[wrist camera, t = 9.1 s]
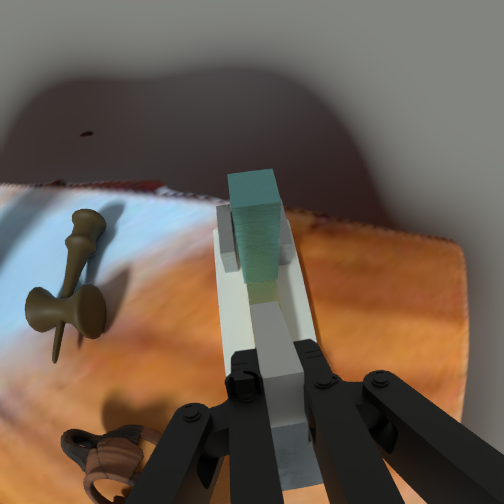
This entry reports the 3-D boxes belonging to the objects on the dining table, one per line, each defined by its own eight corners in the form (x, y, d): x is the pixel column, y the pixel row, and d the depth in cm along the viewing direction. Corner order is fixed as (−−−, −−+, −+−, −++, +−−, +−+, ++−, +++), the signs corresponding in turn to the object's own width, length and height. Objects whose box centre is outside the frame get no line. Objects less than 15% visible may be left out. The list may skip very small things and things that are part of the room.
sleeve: (318, 474, 20) (325, 482, 17) (262, 483, 20) (261, 493, 17) (305, 396, 24) (311, 393, 21) (251, 404, 24) (248, 403, 21)
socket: (290, 264, 32) (292, 243, 28) (225, 273, 32) (220, 253, 28) (280, 220, 35) (281, 197, 32) (221, 228, 35) (216, 206, 31)
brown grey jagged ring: (193, 436, 24) (182, 490, 16) (174, 491, 24) (163, 540, 15) (83, 391, 24) (42, 427, 15) (77, 451, 23) (47, 489, 15)
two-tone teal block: (290, 365, 26) (309, 322, 15) (256, 370, 26) (246, 331, 14) (268, 240, 33) (266, 145, 22) (239, 244, 33) (224, 150, 22)
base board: (337, 472, 21) (339, 473, 20) (242, 487, 21) (241, 490, 20) (288, 224, 36) (288, 219, 35) (214, 234, 36) (213, 229, 35)
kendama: (128, 227, 38) (101, 374, 27) (74, 234, 38) (42, 365, 27) (110, 198, 33) (70, 361, 22) (54, 208, 33) (10, 350, 22)
